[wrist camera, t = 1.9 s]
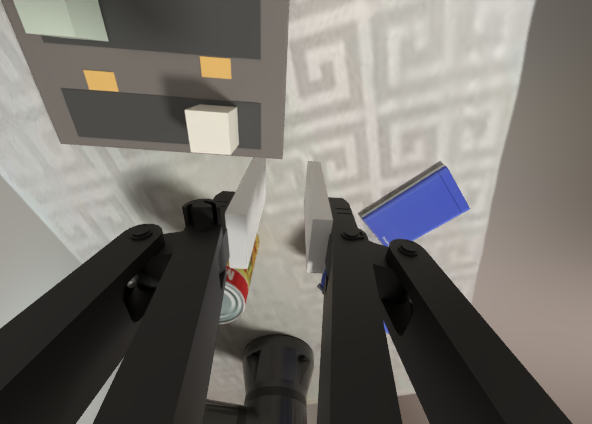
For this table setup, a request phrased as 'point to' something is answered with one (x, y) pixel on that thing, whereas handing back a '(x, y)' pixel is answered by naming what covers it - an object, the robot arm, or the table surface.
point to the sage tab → (62, 18)
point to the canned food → (237, 288)
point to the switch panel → (165, 73)
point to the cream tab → (212, 129)
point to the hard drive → (417, 208)
